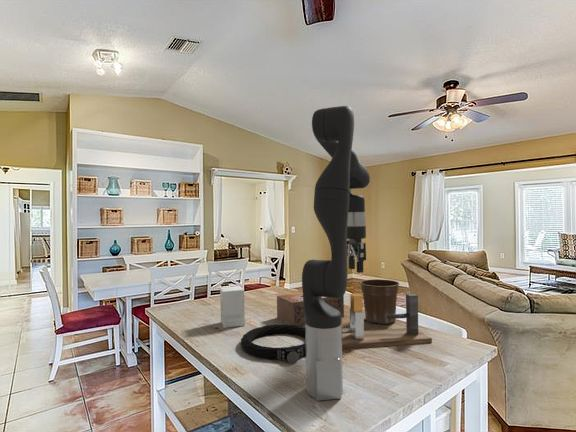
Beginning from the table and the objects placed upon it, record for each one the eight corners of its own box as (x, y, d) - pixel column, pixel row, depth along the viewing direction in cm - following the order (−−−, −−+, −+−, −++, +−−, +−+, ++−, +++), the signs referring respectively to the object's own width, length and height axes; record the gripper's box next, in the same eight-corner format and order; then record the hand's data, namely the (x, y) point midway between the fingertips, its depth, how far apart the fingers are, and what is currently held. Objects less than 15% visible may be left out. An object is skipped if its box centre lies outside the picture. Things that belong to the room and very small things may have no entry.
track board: (431, 342, 120) (431, 297, 120) (337, 349, 115) (336, 302, 115) (414, 331, 132) (413, 290, 132) (327, 337, 127) (327, 295, 127)
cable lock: (305, 320, 138) (335, 346, 109) (305, 329, 138) (335, 358, 109) (235, 326, 130) (247, 357, 101) (235, 336, 130) (248, 370, 101)
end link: (364, 338, 120) (363, 296, 120) (338, 340, 118) (337, 297, 118) (358, 333, 126) (357, 292, 126) (333, 334, 124) (332, 293, 124)
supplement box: (241, 319, 151) (240, 285, 151) (245, 326, 142) (244, 289, 142) (220, 322, 148) (219, 287, 148) (223, 328, 139) (222, 291, 139)
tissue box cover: (293, 327, 140) (293, 302, 140) (277, 318, 153) (276, 295, 153) (343, 317, 153) (343, 294, 153) (325, 310, 165) (324, 289, 165)
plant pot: (353, 317, 151) (352, 280, 151) (382, 313, 158) (382, 277, 158) (376, 328, 136) (375, 287, 136) (408, 322, 143) (407, 283, 143)
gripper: (372, 225, 116) (373, 273, 116) (358, 224, 130) (358, 267, 130) (351, 225, 115) (352, 274, 115) (338, 224, 129) (339, 268, 129)
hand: (355, 270), depth 123 cm, fingers open, 8 cm apart
